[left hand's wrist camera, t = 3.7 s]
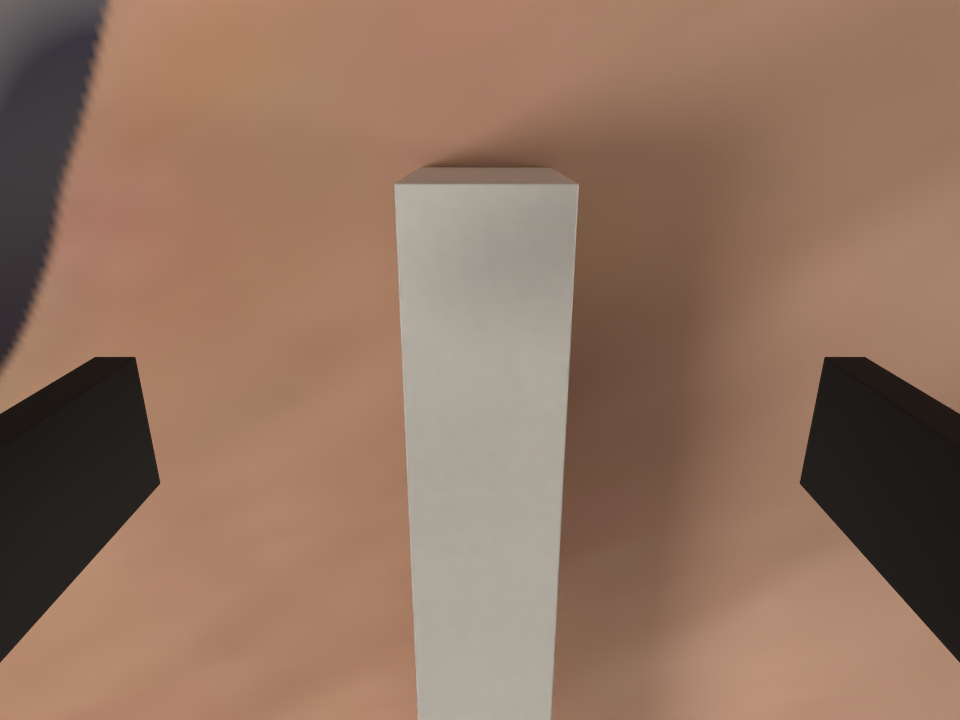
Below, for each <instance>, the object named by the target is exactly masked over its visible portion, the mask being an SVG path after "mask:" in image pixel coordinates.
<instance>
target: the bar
mask: <svg viewBox="0 0 960 720" xmlns="http://www.w3.org/2000/svg"><path fill="white" fill-rule="evenodd" d="M578 190H579V185H578V184H577V183H576V182H574V181H572V180H570V179H569V178H567V177H565V176H564V175H562V174H560V173H559V172H557V171H555V170H554V169H552V168H550V167H421V168H419V169H418V170H416V171H414V172H413V173H411V174H410V175H408V176H407V177H405V178H403V179H402V180H400V181H399V182H397V183H396V184H395V185H394V193H395V215H396V238H397V260H398V283H399V305H400V328H401V350H402V373H403V395H404V418H405V440H406V463H407V485H408V508H409V530H410V553H411V575H412V598H413V620H414V643H415V666H416V688H417V711H418V720H551V717H552V698H553V678H554V658H555V639H556V619H557V600H558V580H559V561H560V541H561V522H562V502H563V483H564V463H565V444H566V424H567V405H568V385H569V365H570V346H571V326H572V307H573V287H574V268H575V248H576V229H577V209H578Z"/></svg>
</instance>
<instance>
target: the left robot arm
mask: <svg viewBox="0 0 960 720" xmlns="http://www.w3.org/2000/svg"><path fill="white" fill-rule="evenodd" d="M159 484H160V480H159V475H158V469H157V464H156V459H155V454H154V449H153V444H152V439H151V434H150V429H149V424H148V419H147V414H146V409H145V404H144V399H143V394H142V389H141V383H140V378H139V373H138V368H137V363H136V358H135V357H94V358H93V359H91V360H89V361H88V362H86V363H84V364H83V365H81V366H79V367H78V368H76V369H74V370H73V371H71V372H69V373H68V374H66V375H64V376H63V377H61V378H59V379H58V380H56V381H54V382H53V383H51V384H50V385H48V386H46V387H45V388H43V389H41V390H40V391H38V392H36V393H35V394H33V395H31V396H30V397H28V398H26V399H25V400H23V401H21V402H20V403H18V404H16V405H15V406H13V407H11V408H10V409H8V410H6V411H5V412H3V413H1V414H0V662H1V661H2V660H3V659H4V658H5V657H6V655H7V654H8V653H9V652H10V651H11V650H12V649H13V648H14V646H15V645H16V644H17V643H18V642H19V641H20V640H21V639H22V638H23V636H24V635H25V634H26V633H27V632H28V631H29V630H30V629H31V627H32V626H33V625H34V624H35V623H36V622H37V621H38V620H39V619H40V617H41V616H42V615H43V614H44V613H45V612H46V611H47V610H48V608H49V607H50V606H51V605H52V604H53V603H54V602H55V601H56V600H57V598H58V597H59V596H60V595H61V594H62V593H63V592H64V591H65V589H66V588H67V587H68V586H69V585H70V584H71V583H72V582H73V580H74V579H75V578H76V577H77V576H78V575H79V574H80V573H81V572H82V570H83V569H84V568H85V567H86V566H87V565H88V564H89V563H90V561H91V560H92V559H93V558H94V557H95V556H96V555H97V554H98V553H99V551H100V550H101V549H102V548H103V547H104V546H105V545H106V544H107V542H108V541H109V540H110V539H111V538H112V537H113V536H114V535H115V534H116V532H117V531H118V530H119V529H120V528H121V527H122V526H123V525H124V523H125V522H126V521H127V520H128V519H129V518H130V517H131V516H132V514H133V513H134V512H135V511H136V510H137V509H138V508H139V507H140V506H141V504H142V503H143V502H144V501H145V500H146V499H147V498H148V497H149V495H150V494H151V493H152V492H153V491H154V490H155V489H156V488H157V487H158V485H159ZM800 484H801V485H802V487H803V488H804V489H805V490H806V491H807V492H808V493H809V494H810V495H811V497H812V498H813V499H814V500H815V501H816V502H817V503H818V504H819V506H820V507H821V508H822V509H823V510H824V511H825V512H826V513H827V514H828V516H829V517H830V518H831V519H832V520H833V521H834V522H835V523H836V525H837V526H838V527H839V528H840V529H841V530H842V531H843V532H844V534H845V535H846V536H847V537H848V538H849V539H850V540H851V541H852V542H853V544H854V545H855V546H856V547H857V548H858V549H859V550H860V551H861V553H862V554H863V555H864V556H865V557H866V558H867V559H868V560H869V561H870V563H871V564H872V565H873V566H874V567H875V568H876V569H877V570H878V572H879V573H880V574H881V575H882V576H883V577H884V578H885V579H886V580H887V582H888V583H889V584H890V585H891V586H892V587H893V588H894V589H895V591H896V592H897V593H898V594H899V595H900V596H901V597H902V598H903V600H904V601H905V602H906V603H907V604H908V605H909V606H910V607H911V608H912V610H913V611H914V612H915V613H916V614H917V615H918V616H919V617H920V619H921V620H922V621H923V622H924V623H925V624H926V625H927V626H928V627H929V629H930V630H931V631H932V632H933V633H934V634H935V635H936V636H937V638H938V639H939V640H940V641H941V642H942V643H943V644H944V645H945V646H946V648H947V649H948V650H949V651H950V652H951V653H952V654H953V655H954V657H955V658H956V659H957V660H958V661H959V662H960V414H959V413H957V412H955V411H954V410H952V409H950V408H949V407H947V406H945V405H944V404H942V403H940V402H939V401H937V400H935V399H934V398H932V397H930V396H929V395H927V394H925V393H924V392H922V391H920V390H919V389H917V388H915V387H914V386H912V385H910V384H909V383H907V382H906V381H904V380H902V379H901V378H899V377H897V376H896V375H894V374H892V373H891V372H889V371H887V370H886V369H884V368H882V367H881V366H879V365H877V364H876V363H874V362H872V361H871V360H869V359H867V358H866V357H825V358H824V363H823V368H822V373H821V378H820V383H819V389H818V394H817V399H816V404H815V409H814V414H813V419H812V424H811V429H810V434H809V439H808V444H807V449H806V454H805V459H804V464H803V469H802V475H801V480H800Z"/></svg>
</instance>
